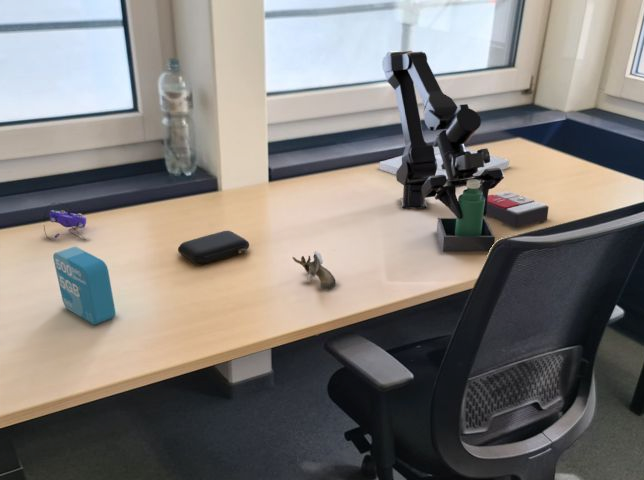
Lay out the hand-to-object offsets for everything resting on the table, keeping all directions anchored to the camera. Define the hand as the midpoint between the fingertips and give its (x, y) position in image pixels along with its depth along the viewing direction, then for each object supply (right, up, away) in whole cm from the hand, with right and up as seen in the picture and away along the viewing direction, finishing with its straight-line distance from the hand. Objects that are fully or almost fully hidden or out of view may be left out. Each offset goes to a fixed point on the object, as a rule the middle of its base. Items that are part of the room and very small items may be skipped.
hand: (473, 216), depth 171 cm
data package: (-79, -24, -24) cm, 86 cm away
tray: (-1, -5, +6) cm, 8 cm away
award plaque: (+1, +25, +53) cm, 58 cm away
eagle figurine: (-35, -16, -12) cm, 41 cm away
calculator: (+13, +5, +21) cm, 25 cm away
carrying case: (-59, -9, 0) cm, 59 cm away
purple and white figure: (-95, -3, +9) cm, 95 cm away
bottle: (-1, -5, +5) cm, 7 cm away
